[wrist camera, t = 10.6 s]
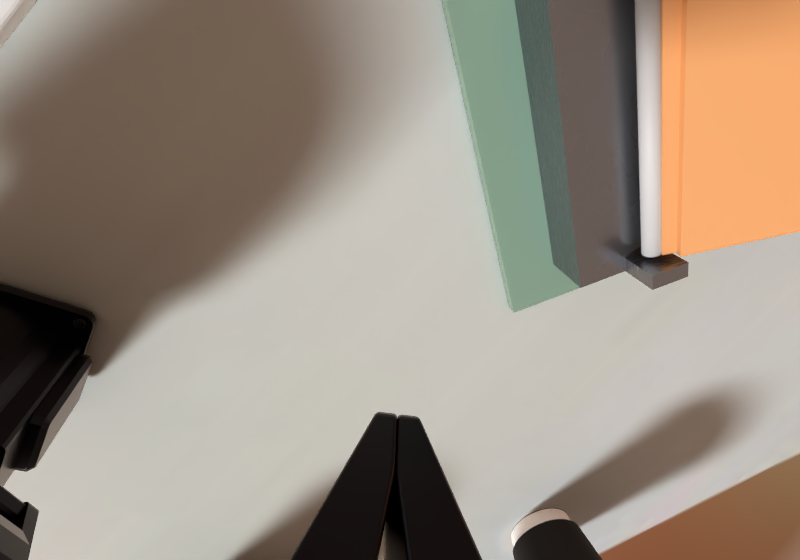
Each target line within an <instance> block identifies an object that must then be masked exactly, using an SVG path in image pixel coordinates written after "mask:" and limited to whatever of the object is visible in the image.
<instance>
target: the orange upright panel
mask: <svg viewBox="0 0 800 560" xmlns="http://www.w3.org/2000/svg"><path fill="white" fill-rule="evenodd" d="M635 34H636V71H637V109H638V146H639V183H640V221H641V254H642V255H643V256H645V257H657V256H660V255H667V254H672V253H676V252H677V253H678V255H679V256H680V257H681V256H686V255H690V254H695V253H700V252H704V251H709V250H714V249H719V248H723V247H728V246H733V245H737V244H742V243H747V242H752V241H756V240H761V239H766V238H771V237H775V236H780V235H785V234H789V233H794V232H799V231H800V0H635Z"/></svg>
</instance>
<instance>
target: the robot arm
mask: <svg viewBox="0 0 800 560" xmlns="http://www.w3.org/2000/svg"><path fill="white" fill-rule="evenodd" d="M77 319H81V320H83V321H85V322H86V324H82V323H80V322H79V321H78V320H77ZM96 323H97V319H96V317H95V315H94V314H93V313H92V312H90V311H87V310H85V309H81V308H78V307H75V306H72V305H68V304H65V303H62V302H59V301H55V300H52V299H49V298H46V297H42V296H39V295H36V294H33V293H29V292H26V291H23V290H20V289H16V288H13V287H10V286H7V285H4V284H0V560H28V557H29V553H30V548H31V544H32V539H33V535H34V530H35V526H36V521H37V517H38V513H39V511H38V510H37V509H36V508H35V507H34V506H32V505H31V504H30V503H29V502H24V503H23V502H22V501H20V500H19V499H18V498H16V497H15V496H14V495H13V494H11V493H10V492H9V491H7V490H6V489H5V488H4V487H3V486H4V484H5V483H6V481H7V480H8V478H9V477H10V475H11V474H12V473H13V471H14V470H20V471H28V470H30V469H32V468H34V467H36V466H37V464H38V462H39V461H40V459H41V458H42V456H43V455H44V453H45V452H46V450H47V448H48V447H49V445H50V444H51V442H52V441H53V439H54V438H55V436H56V434H57V433H58V431H59V430H60V428H61V427H62V425H63V424H64V422H65V420H66V419H67V417H68V416H69V414H70V413H71V411H72V410H73V408H74V406H75V405H76V403H77V402H78V400H79V398H80V395H81V393H82V390H83V387H84V384H85V382H86V379H87V376H88V373H89V371H90V368H91V365H92V360H91V358H90V356H87V355H85V354H86V351H87V348H88V345H89V343H90V340H91V337H92V334H93V331H94V329H95V326H96ZM383 531H384V560H482V558H481V556H480V554H479V551H478V549H477V547H476V545H475V542H474V540H473V538H472V536H471V533H470V531H469V529H468V527H467V524H466V522H465V520H464V517H463V515H462V513H461V511H460V508H459V506H458V504H457V502H456V499H455V497H454V495H453V493H452V490H451V488H450V486H449V484H448V481H447V479H446V477H445V475H444V472H443V470H442V468H441V466H440V463H439V461H438V459H437V456H436V454H435V452H434V450H433V447H432V445H431V443H430V441H429V438H428V436H427V434H426V432H425V429H424V427H423V425H422V423H421V421H420V419H419V418H418V417H416V416H408V415H399V416H398V418H397V416H396V415H395V414H392V413H384V412H377V413H376V414H375V415H374V417H373V419H372V420H371V422H370V424H369V425H368V427H367V429H366V431H365V432H364V434H363V436H362V437H361V439H360V441H359V443H358V444H357V446H356V448H355V449H354V451H353V453H352V455H351V456H350V458H349V460H348V461H347V463H346V465H345V467H344V468H343V470H342V472H341V473H340V475H339V477H338V479H337V480H336V482H335V484H334V485H333V487H332V489H331V490H330V492H329V494H328V496H327V497H326V499H325V501H324V502H323V504H322V506H321V508H320V509H319V511H318V513H317V514H316V516H315V518H314V520H313V521H312V523H311V525H310V526H309V528H308V530H307V532H306V533H305V535H304V537H303V538H302V540H301V542H300V544H299V545H298V547H297V549H296V550H295V552H294V554H293V556H292V557H291V559H290V560H378V555H379V551H380V546H381V541H382V536H383Z"/></svg>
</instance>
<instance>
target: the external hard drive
mask: <svg viewBox="0 0 800 560" xmlns="http://www.w3.org/2000/svg"><path fill="white" fill-rule="evenodd" d="M36 1H37V0H0V48H1V47H2V45H3V44H4V43H5V41H6V40H7V39H8V37H9V36H10V35H11V34H12V32H13V31H14V30H15V28H16V27H17V26H18V25H19V23H20V22H21V21H22V19H23V18H24V17H25V15H26V14H27V13H28V12H29V10H30V9H31V8H32V6H33V5H34V4H35V3H36Z"/></svg>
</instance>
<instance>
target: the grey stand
mask: <svg viewBox="0 0 800 560" xmlns="http://www.w3.org/2000/svg"><path fill="white" fill-rule="evenodd" d="M515 7H516V14H517V21H518V27H519V34H520V41H521V48H522V55H523V61H524V68H525V75H526V82H527V89H528V95H529V102H530V109H531V116H532V123H533V129H534V136H535V143H536V150H537V157H538V164H539V170H540V177H541V184H542V191H543V198H544V204H545V211H546V218H547V225H548V232H549V238H550V245H551V252H552V259H553V264H554V265H555V266H556V267H557V268H558V269H559V270H560V271H562V272H563V273H564V274H565V275H566V276H567V277H569V278H570V279H571V280H572V281H573V282H574V283H575V284H577V285H578V286H579V287H580V288H581V287H584V286H587V285H589V284H592V283H595V282H597V281H600V280H603V279H605V278H608V277H610V276H613V275H616V274H618V273H621V272H624V271H626V272H628V273H629V274H631V275H632V276H633V277H635V278H636V279H638V280H639V281H641V282H642V283H644V284H645V285H646V286H648V287H649V288H651V289H652V290H653V289H656V288H659V287H661V286H664V285H667V284H669V283H672V282H674V281H677V280H680V279H682V278H685V277H688V262H687V261H685V260H683V259H681V258H679V257H678V256H676V255H674V254H667V255H660V256H657V257H645V256H643V255H642V254H641V221H640V183H639V146H638V109H637V71H636V34H635V0H515Z"/></svg>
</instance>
